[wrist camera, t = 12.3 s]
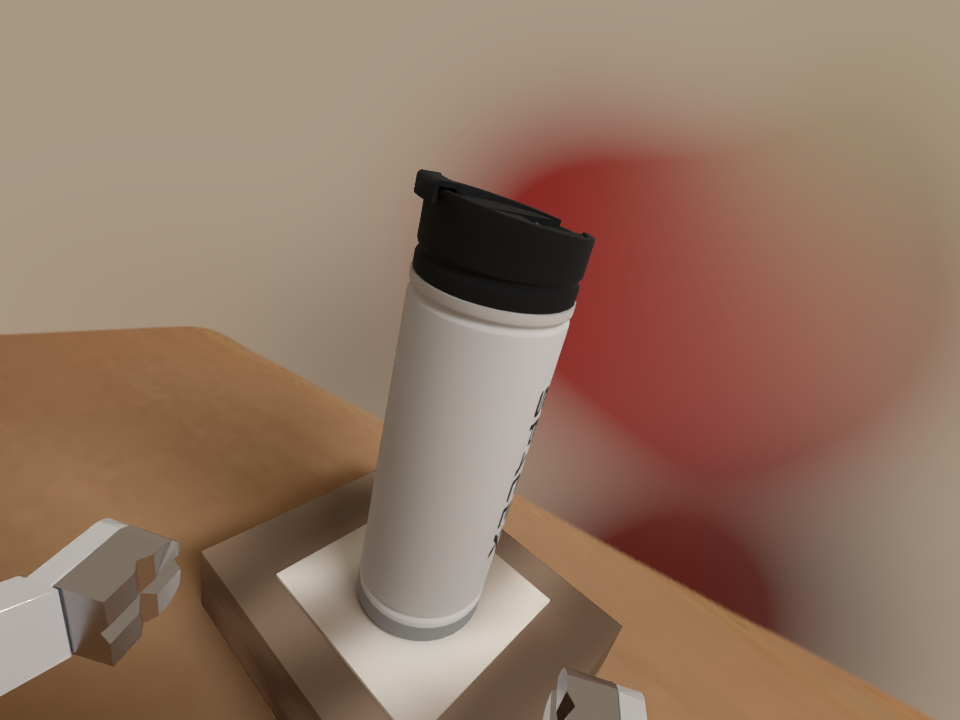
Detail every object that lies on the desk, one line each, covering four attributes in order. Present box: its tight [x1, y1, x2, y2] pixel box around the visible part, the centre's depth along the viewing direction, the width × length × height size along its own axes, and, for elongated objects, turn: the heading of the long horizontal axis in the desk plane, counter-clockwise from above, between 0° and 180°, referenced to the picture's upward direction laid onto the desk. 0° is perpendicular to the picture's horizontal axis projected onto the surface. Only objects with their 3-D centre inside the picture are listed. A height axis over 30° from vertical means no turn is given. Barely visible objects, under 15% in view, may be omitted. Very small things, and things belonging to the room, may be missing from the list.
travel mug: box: [357, 169, 595, 641], centre depth 22 cm, size 6×7×20 cm
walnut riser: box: [201, 470, 622, 720], centre depth 27 cm, size 17×14×4 cm
